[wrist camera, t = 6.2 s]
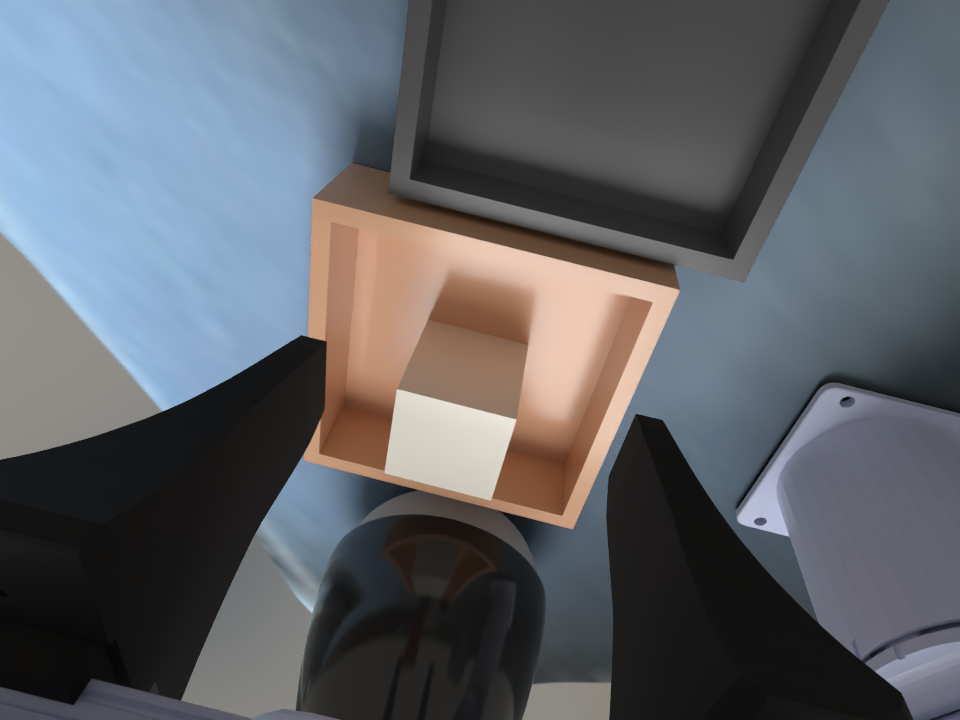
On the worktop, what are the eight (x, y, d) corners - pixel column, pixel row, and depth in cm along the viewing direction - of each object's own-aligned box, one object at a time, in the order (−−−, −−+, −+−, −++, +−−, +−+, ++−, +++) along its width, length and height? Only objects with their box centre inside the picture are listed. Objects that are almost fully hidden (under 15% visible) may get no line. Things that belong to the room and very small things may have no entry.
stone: (528, 344, 23) (516, 419, 19) (505, 421, 25) (491, 500, 22) (427, 319, 23) (396, 388, 19) (414, 397, 25) (384, 473, 22)
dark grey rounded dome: (469, 614, 35) (401, 981, 22) (320, 521, 32) (149, 881, 20) (596, 538, 30) (600, 964, 17) (431, 420, 27) (293, 823, 14)
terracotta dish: (667, 241, 21) (680, 289, 18) (575, 466, 27) (572, 529, 24) (352, 162, 21) (312, 198, 18) (335, 405, 27) (304, 460, 24)
